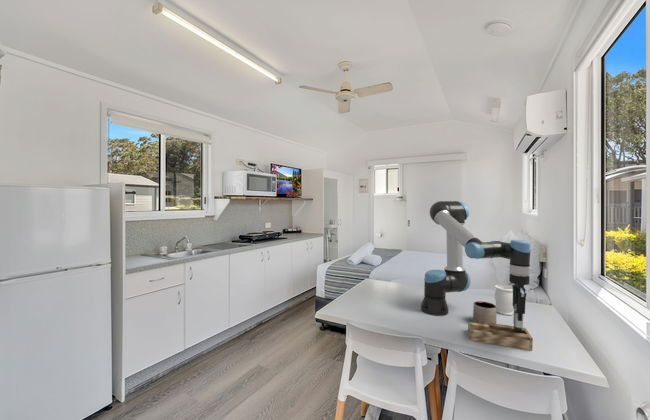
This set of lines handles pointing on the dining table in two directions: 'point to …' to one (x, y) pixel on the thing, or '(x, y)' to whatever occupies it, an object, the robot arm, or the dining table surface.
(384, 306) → the dining table surface
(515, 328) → the metal hex bolt
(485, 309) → the planter
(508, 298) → the jar
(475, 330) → the rail
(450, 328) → the dining table surface
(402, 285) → the dining table surface
